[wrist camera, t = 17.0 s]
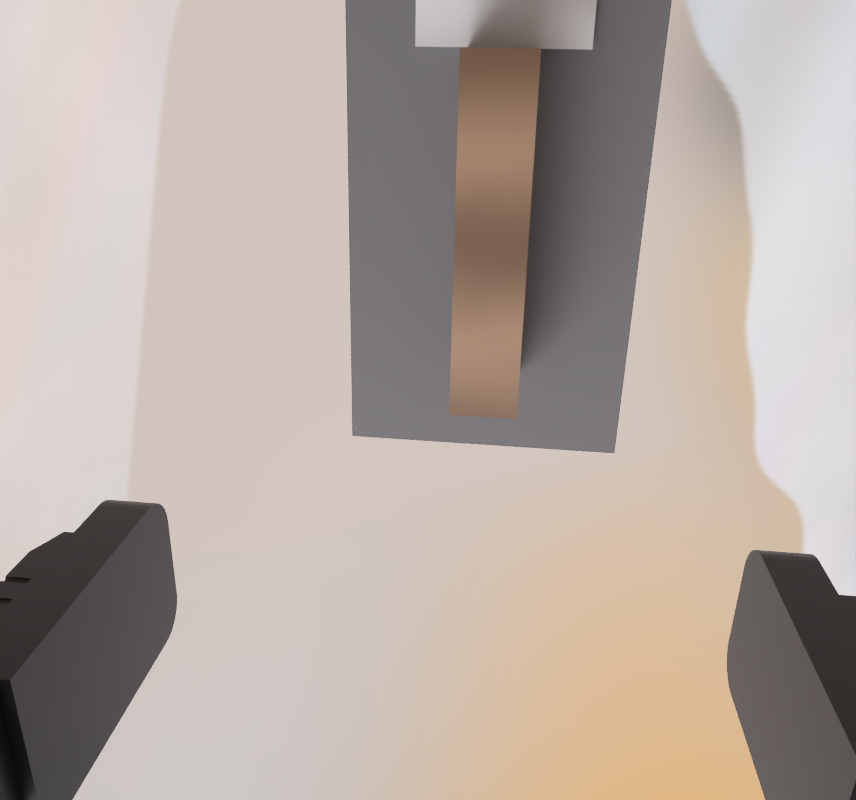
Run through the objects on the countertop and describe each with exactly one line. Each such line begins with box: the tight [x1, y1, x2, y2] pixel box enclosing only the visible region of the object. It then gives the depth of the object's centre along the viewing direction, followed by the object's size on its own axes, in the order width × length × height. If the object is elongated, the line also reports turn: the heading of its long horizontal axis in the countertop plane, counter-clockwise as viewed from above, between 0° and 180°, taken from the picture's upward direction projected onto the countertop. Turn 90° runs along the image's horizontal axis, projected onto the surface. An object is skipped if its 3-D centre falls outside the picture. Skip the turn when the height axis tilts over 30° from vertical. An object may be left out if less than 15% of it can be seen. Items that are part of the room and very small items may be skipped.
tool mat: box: [346, 0, 671, 453], centre depth 30 cm, size 22×11×1 cm, turn 179°
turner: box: [415, 0, 597, 419], centre depth 27 cm, size 20×6×4 cm, turn 179°
